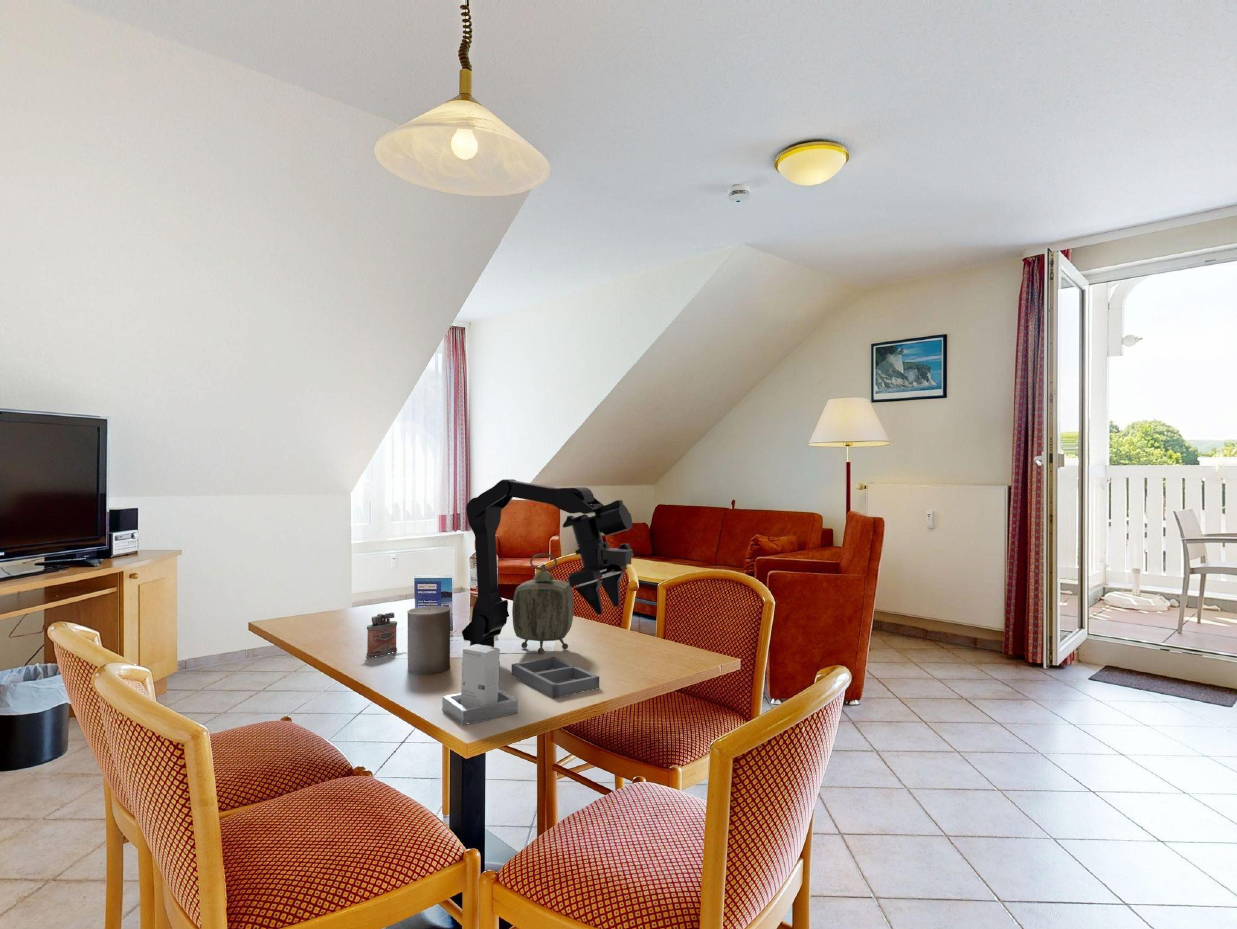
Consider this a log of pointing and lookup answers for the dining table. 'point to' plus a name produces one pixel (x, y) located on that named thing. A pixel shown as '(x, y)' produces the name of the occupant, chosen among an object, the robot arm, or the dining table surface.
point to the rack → (555, 676)
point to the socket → (479, 708)
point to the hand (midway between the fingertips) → (609, 610)
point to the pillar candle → (428, 639)
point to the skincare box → (479, 675)
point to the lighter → (381, 635)
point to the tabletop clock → (543, 608)
